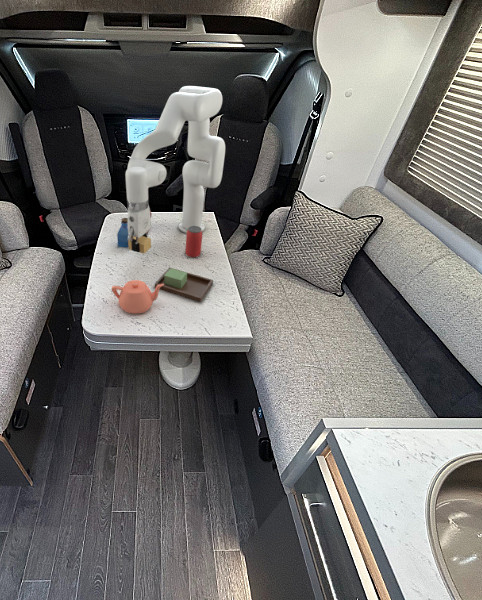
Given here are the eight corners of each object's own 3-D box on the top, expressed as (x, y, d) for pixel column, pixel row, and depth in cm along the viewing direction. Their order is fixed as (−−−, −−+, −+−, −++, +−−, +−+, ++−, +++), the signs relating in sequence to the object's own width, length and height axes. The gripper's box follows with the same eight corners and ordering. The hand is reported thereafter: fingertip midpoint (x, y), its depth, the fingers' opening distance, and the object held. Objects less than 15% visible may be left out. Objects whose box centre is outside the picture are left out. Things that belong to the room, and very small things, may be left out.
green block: (170, 276, 134) (170, 267, 131) (186, 281, 131) (187, 272, 129) (164, 283, 130) (164, 275, 127) (180, 289, 127) (181, 280, 125)
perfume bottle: (131, 248, 151) (130, 223, 144) (118, 246, 152) (116, 222, 144) (134, 241, 156) (133, 216, 148) (121, 240, 157) (119, 215, 149)
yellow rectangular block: (135, 242, 137) (135, 234, 134) (151, 247, 134) (150, 238, 132) (128, 249, 133) (127, 240, 130) (144, 253, 131) (143, 244, 128)
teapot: (115, 293, 126) (113, 272, 120) (163, 294, 126) (164, 273, 120) (111, 315, 116) (108, 293, 110) (163, 316, 116) (164, 294, 110)
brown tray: (169, 271, 137) (169, 267, 136) (212, 284, 131) (213, 279, 129) (154, 288, 128) (154, 283, 127) (200, 302, 122) (200, 298, 121)
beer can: (182, 255, 147) (184, 230, 139) (189, 248, 151) (190, 224, 144) (196, 259, 144) (199, 234, 137) (202, 252, 149) (205, 227, 141)
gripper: (134, 215, 115) (137, 260, 126) (158, 196, 126) (158, 239, 138) (115, 211, 117) (120, 255, 129) (140, 193, 129) (142, 235, 141)
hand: (139, 247), depth 133 cm, fingers closed on yellow rectangular block, 5 cm apart
